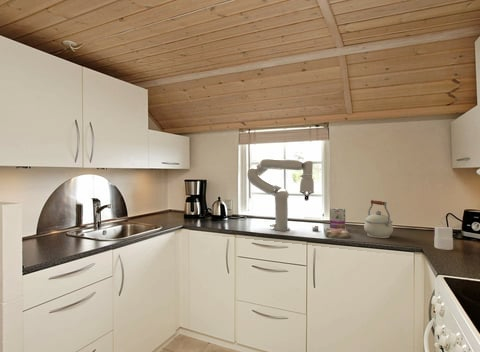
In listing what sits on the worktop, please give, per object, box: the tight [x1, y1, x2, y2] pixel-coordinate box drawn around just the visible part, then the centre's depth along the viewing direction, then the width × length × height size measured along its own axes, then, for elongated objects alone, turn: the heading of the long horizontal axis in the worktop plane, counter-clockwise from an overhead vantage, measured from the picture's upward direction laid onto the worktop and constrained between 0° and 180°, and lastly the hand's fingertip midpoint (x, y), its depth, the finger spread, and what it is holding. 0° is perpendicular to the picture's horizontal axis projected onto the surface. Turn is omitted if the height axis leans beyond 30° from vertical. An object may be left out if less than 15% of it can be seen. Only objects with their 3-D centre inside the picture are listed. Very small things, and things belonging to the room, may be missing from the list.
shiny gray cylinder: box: [311, 225, 319, 232], centre depth 215 cm, size 4×4×4 cm
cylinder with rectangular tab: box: [433, 226, 454, 251], centre depth 166 cm, size 9×9×12 cm
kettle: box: [363, 199, 394, 239], centre depth 199 cm, size 25×18×25 cm
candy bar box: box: [329, 207, 346, 229], centre depth 224 cm, size 11×5×16 cm, turn 62°
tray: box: [323, 226, 345, 236], centre depth 200 cm, size 14×14×4 cm
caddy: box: [326, 227, 350, 239], centre depth 200 cm, size 14×14×4 cm
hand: (306, 200), depth 216 cm, fingers closed
